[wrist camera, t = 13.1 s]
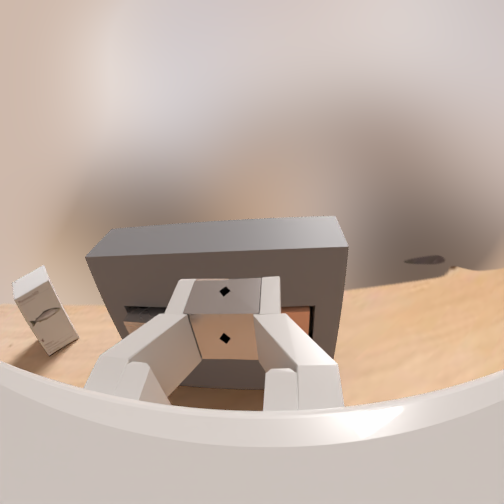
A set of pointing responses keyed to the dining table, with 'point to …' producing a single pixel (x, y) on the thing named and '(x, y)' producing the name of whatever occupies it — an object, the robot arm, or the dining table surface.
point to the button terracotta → (298, 316)
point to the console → (227, 275)
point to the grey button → (141, 316)
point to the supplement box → (43, 310)
